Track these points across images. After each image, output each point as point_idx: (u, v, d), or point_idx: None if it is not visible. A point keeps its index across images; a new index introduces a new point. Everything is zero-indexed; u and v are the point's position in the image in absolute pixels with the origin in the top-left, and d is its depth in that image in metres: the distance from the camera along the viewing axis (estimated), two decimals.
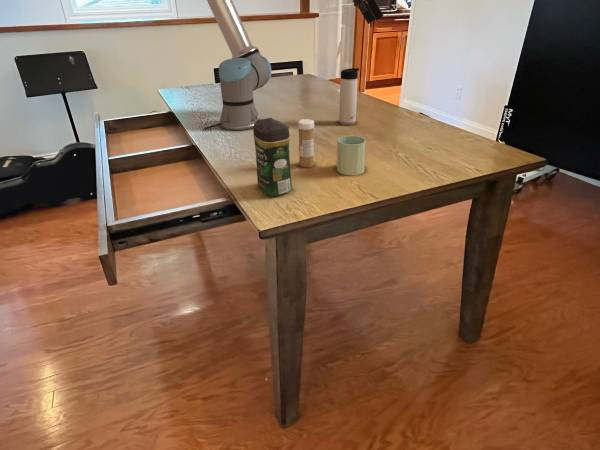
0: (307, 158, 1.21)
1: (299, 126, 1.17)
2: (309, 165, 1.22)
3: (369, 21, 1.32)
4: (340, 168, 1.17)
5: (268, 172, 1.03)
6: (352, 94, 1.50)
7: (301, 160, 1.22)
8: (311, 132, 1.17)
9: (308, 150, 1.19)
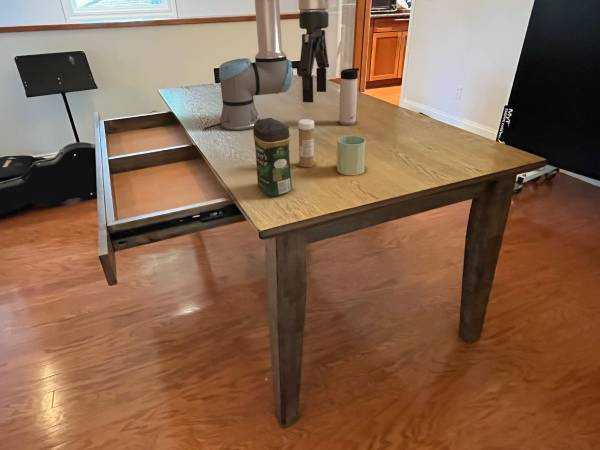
0: (307, 158, 1.21)
1: (299, 126, 1.17)
2: (309, 165, 1.22)
3: (305, 100, 1.09)
4: (340, 168, 1.17)
5: (268, 172, 1.03)
6: (352, 94, 1.50)
7: (301, 160, 1.22)
8: (311, 132, 1.17)
9: (308, 150, 1.19)
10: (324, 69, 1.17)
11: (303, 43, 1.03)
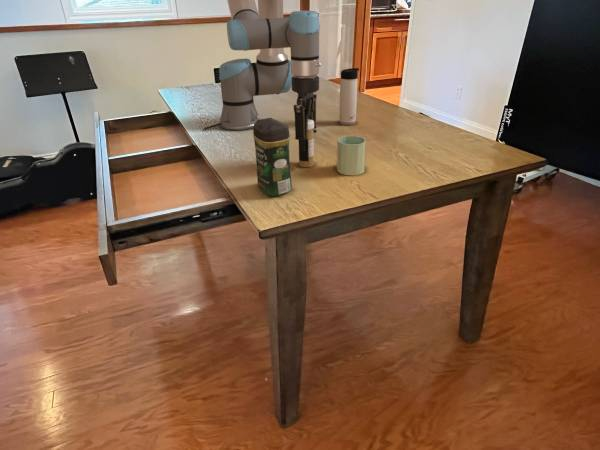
0: None
1: None
2: (309, 165, 1.22)
3: (301, 159, 1.20)
4: (340, 168, 1.17)
5: (268, 172, 1.03)
6: (352, 94, 1.50)
7: None
8: (311, 132, 1.17)
9: None
10: None
11: (296, 113, 1.11)
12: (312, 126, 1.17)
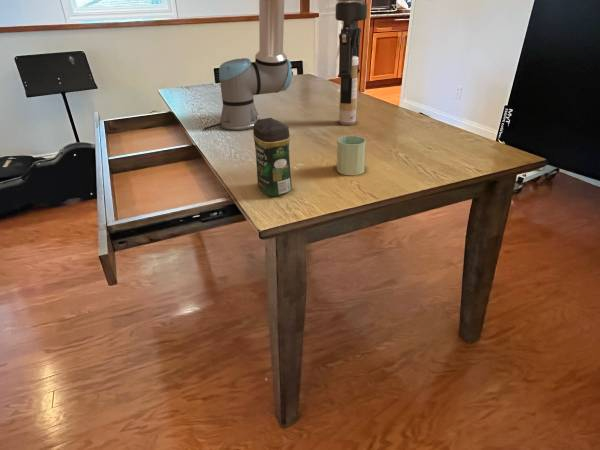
0: None
1: None
2: (351, 109, 1.10)
3: (343, 101, 1.08)
4: (340, 168, 1.17)
5: (268, 172, 1.03)
6: None
7: (342, 103, 1.09)
8: (355, 69, 1.05)
9: None
10: None
11: (341, 43, 0.98)
12: (357, 62, 1.04)
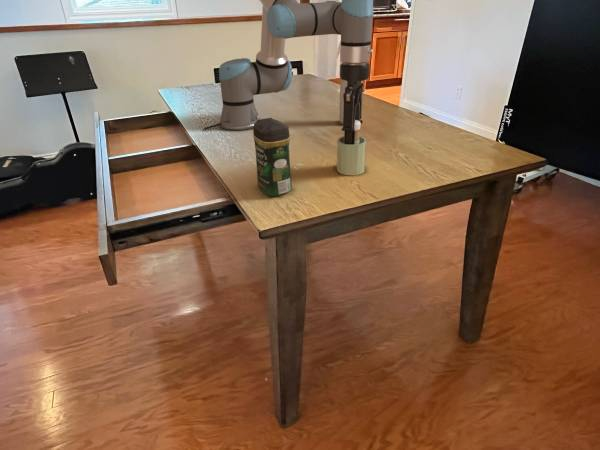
0: None
1: None
2: None
3: None
4: (340, 168, 1.17)
5: (268, 172, 1.03)
6: None
7: None
8: (357, 133, 1.13)
9: None
10: None
11: (345, 102, 1.05)
12: (359, 127, 1.12)
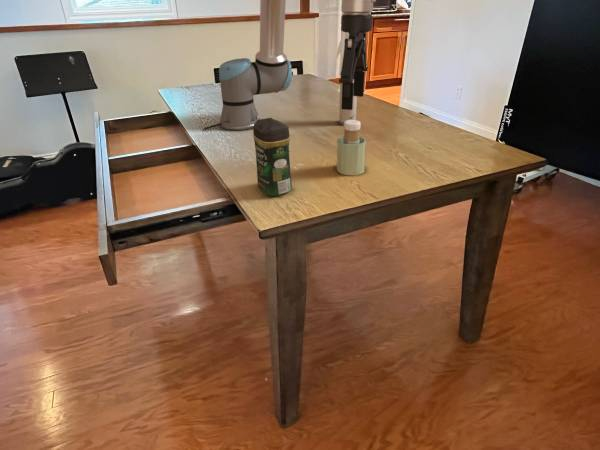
0: None
1: (345, 127, 1.12)
2: None
3: (344, 107, 1.05)
4: (340, 168, 1.17)
5: (268, 172, 1.03)
6: None
7: None
8: (357, 133, 1.13)
9: None
10: (363, 73, 1.12)
11: (346, 48, 0.97)
12: (359, 127, 1.12)
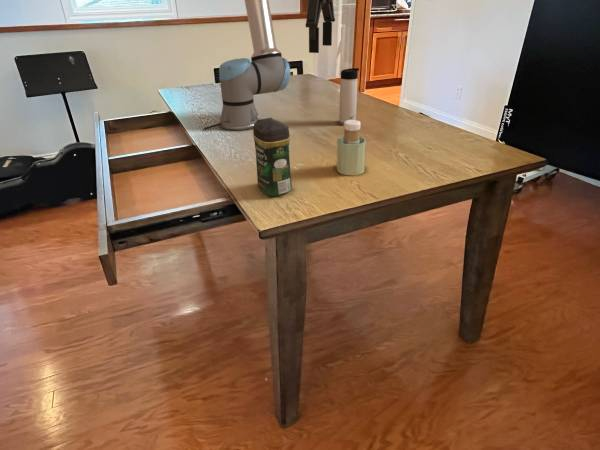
0: None
1: (345, 127, 1.12)
2: None
3: (311, 51, 1.17)
4: (340, 168, 1.17)
5: (268, 172, 1.03)
6: (352, 94, 1.50)
7: None
8: (357, 133, 1.13)
9: None
10: (330, 23, 1.24)
11: None
12: (359, 127, 1.12)
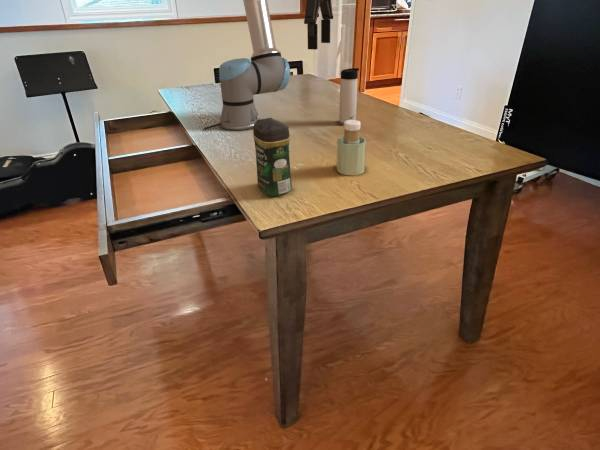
0: None
1: (345, 127, 1.12)
2: None
3: (310, 47, 1.18)
4: (340, 168, 1.17)
5: (268, 172, 1.03)
6: (352, 94, 1.50)
7: None
8: (357, 133, 1.13)
9: None
10: (328, 20, 1.25)
11: None
12: (359, 127, 1.12)
